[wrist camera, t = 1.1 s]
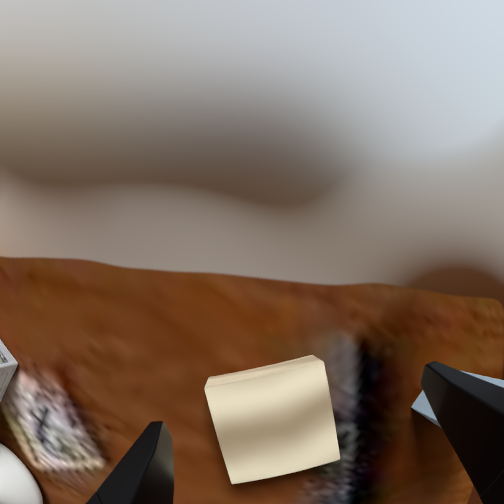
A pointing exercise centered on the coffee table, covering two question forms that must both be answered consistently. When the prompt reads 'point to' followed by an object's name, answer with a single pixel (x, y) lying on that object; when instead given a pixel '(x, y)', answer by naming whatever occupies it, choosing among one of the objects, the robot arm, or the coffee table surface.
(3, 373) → the light bulb box
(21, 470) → the flower in vase
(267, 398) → the maple block
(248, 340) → the coffee table surface
